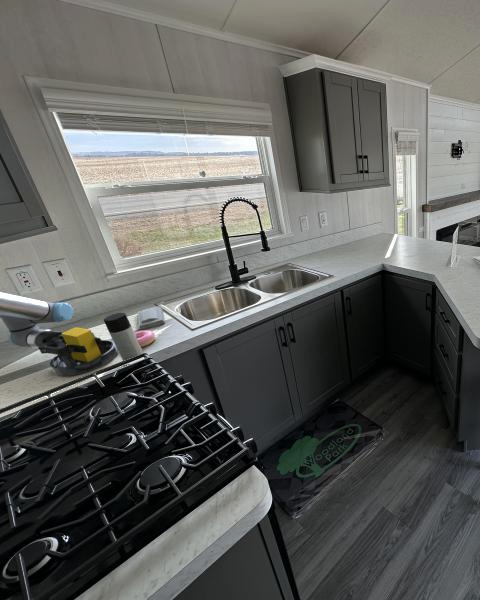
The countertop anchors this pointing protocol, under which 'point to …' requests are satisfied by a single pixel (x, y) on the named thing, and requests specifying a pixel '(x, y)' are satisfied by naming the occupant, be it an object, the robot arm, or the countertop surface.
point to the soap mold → (150, 317)
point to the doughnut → (145, 337)
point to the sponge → (82, 344)
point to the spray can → (123, 335)
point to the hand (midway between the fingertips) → (92, 345)
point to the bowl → (68, 366)
